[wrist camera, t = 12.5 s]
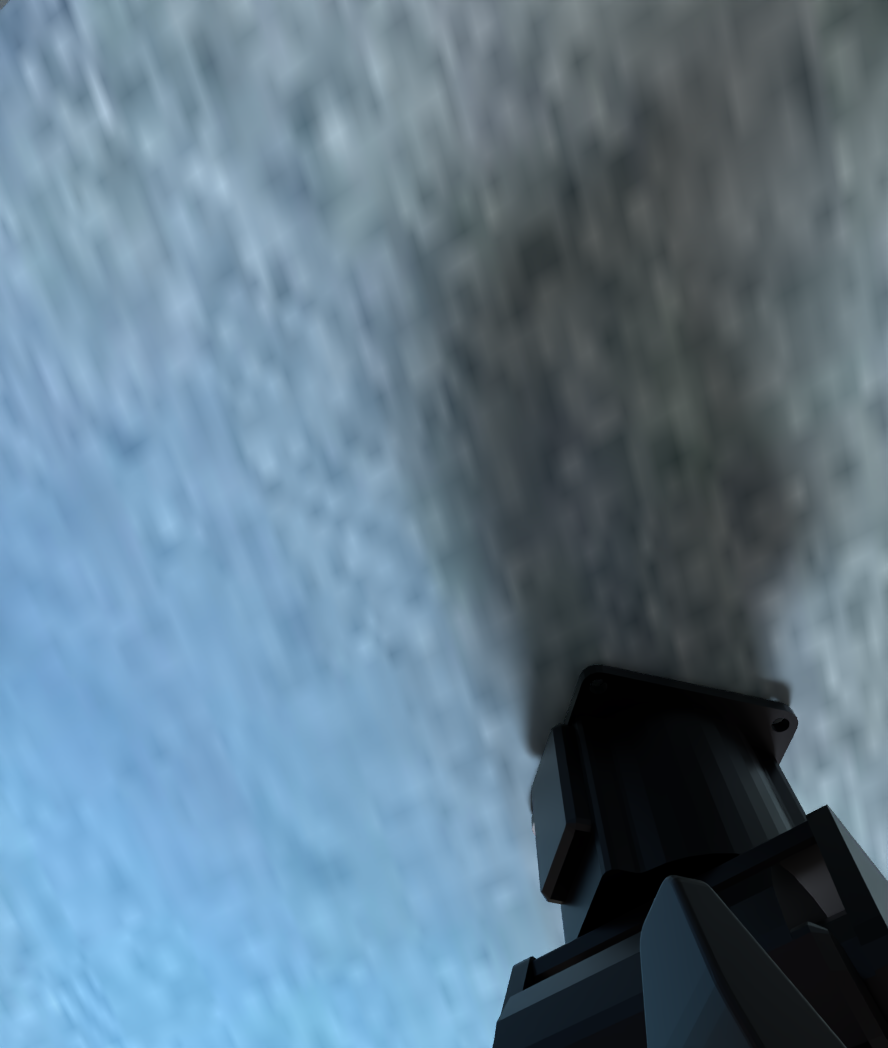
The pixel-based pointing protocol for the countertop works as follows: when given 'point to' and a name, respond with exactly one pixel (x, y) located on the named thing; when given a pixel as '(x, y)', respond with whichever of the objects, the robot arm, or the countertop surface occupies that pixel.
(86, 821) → the countertop surface
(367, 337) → the countertop surface
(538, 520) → the countertop surface
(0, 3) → the tower base
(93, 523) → the countertop surface
